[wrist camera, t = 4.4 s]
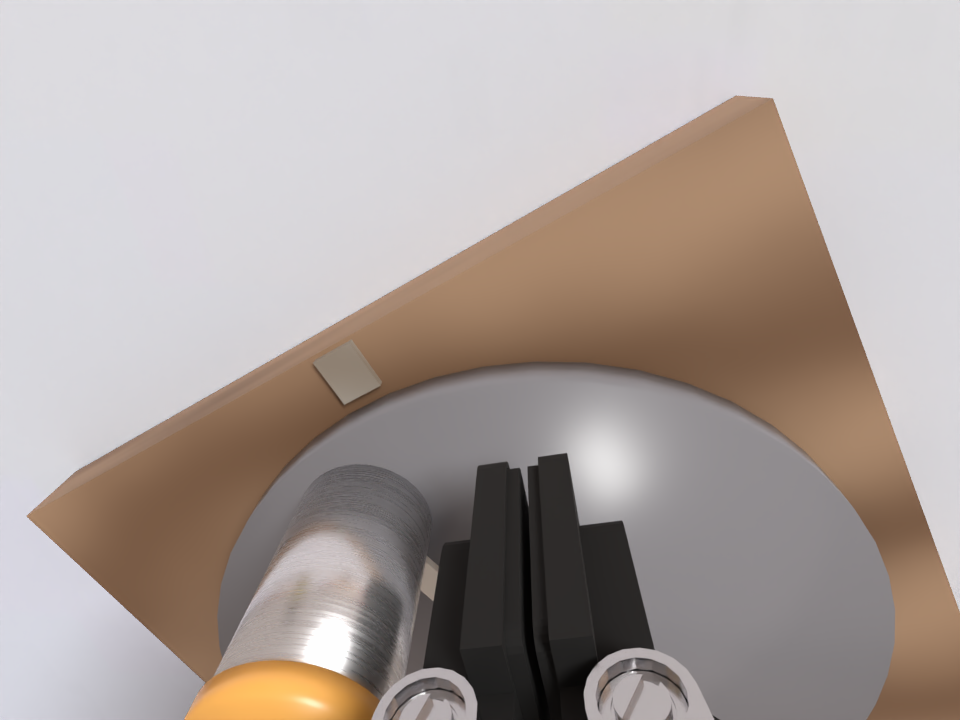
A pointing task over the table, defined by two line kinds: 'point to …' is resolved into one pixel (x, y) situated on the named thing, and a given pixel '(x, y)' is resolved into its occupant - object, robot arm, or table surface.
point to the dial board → (553, 338)
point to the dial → (599, 498)
